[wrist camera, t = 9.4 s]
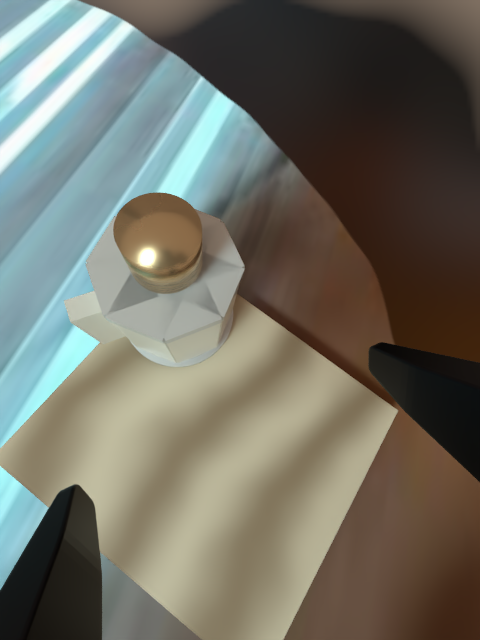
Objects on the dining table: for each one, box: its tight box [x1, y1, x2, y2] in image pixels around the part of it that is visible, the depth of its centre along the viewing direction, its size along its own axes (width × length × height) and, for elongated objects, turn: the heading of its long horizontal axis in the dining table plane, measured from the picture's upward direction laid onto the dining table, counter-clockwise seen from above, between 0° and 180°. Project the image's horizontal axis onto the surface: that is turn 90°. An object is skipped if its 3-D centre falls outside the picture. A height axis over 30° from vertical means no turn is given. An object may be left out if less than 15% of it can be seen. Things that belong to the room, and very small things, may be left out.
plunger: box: [113, 193, 203, 294], centre depth 16 cm, size 5×5×9 cm
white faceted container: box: [64, 209, 245, 367], centre depth 18 cm, size 9×8×8 cm
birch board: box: [0, 294, 398, 640], centre depth 20 cm, size 20×18×1 cm
